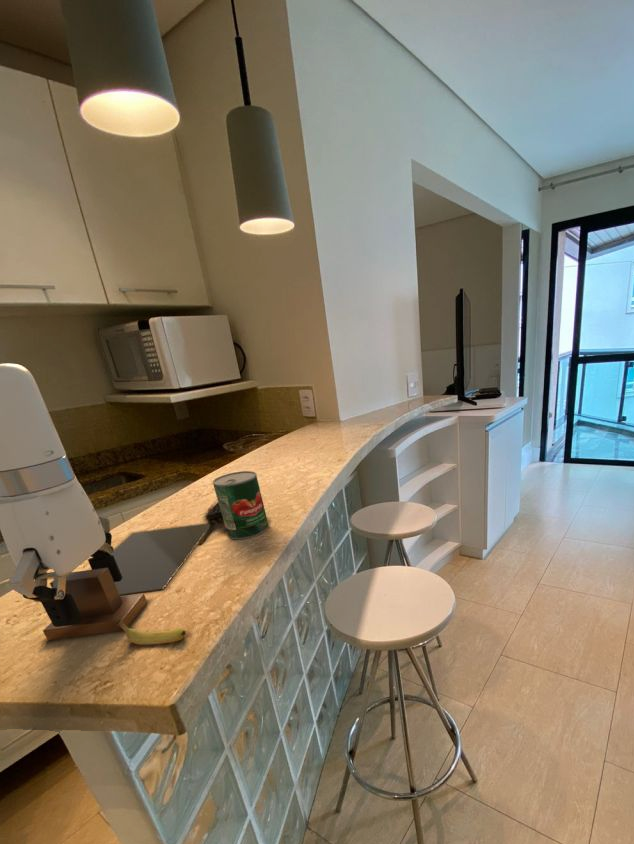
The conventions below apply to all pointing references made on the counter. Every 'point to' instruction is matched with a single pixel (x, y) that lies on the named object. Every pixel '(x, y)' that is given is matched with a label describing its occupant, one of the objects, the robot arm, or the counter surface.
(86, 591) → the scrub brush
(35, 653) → the counter surface
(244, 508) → the canned tomato
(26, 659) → the counter surface
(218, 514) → the hairbrush
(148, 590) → the slate board
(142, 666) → the counter surface
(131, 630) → the banana
